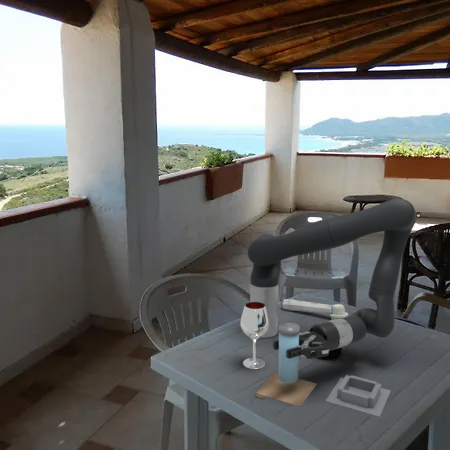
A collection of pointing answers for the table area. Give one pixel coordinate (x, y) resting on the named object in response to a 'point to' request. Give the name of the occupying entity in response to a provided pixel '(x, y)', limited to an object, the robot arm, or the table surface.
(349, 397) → the cartridge housing
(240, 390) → the table surface
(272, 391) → the light brown wooden board
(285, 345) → the filter cartridge
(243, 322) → the wineglass
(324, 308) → the toothbrush head
